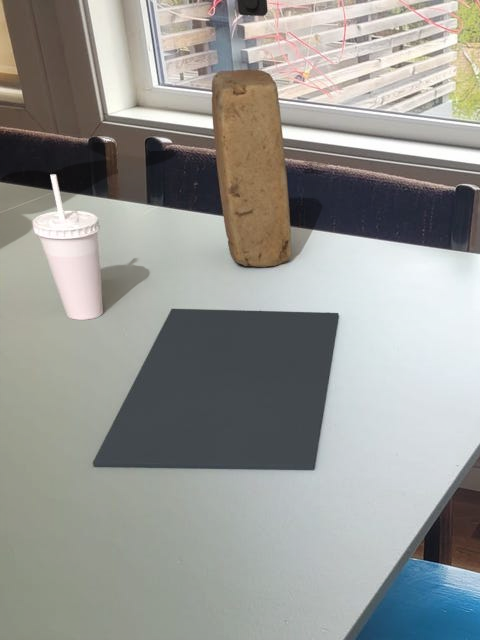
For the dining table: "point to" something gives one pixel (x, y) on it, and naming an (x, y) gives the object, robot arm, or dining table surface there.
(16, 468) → the dining table surface
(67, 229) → the smoothie
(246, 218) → the block
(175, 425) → the mat
